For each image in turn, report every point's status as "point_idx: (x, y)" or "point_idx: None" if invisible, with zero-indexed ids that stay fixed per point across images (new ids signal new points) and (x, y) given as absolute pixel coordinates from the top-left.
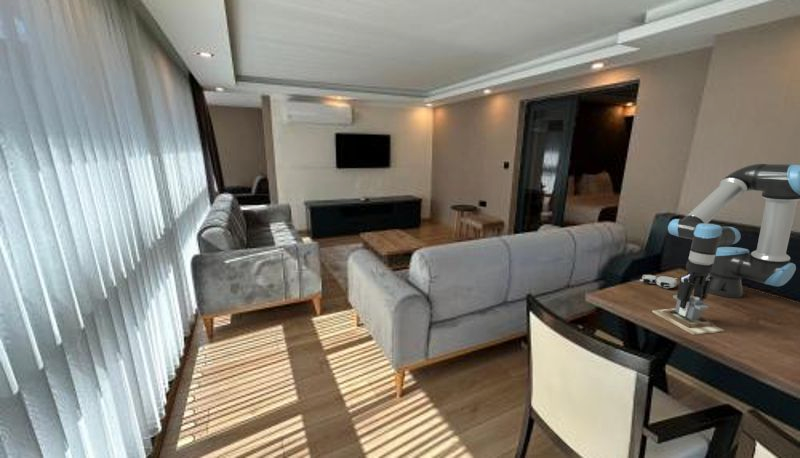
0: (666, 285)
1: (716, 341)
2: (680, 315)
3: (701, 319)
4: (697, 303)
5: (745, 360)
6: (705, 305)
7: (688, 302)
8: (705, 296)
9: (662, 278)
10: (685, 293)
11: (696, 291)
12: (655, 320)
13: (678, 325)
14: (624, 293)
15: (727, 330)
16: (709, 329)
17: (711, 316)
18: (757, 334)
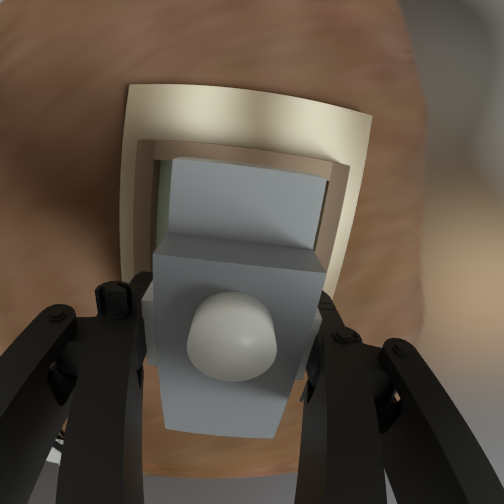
0: (56, 439)
1: (311, 27)
2: None
3: (154, 204)
4: (280, 255)
5: None
6: (171, 204)
7: (318, 317)
8: (45, 326)
9: (48, 456)
10: (435, 415)
11: (136, 438)
12: (388, 292)
13: (352, 212)
14: (242, 460)
15: (96, 97)
16: (219, 106)
17: (35, 242)
18: (17, 59)
